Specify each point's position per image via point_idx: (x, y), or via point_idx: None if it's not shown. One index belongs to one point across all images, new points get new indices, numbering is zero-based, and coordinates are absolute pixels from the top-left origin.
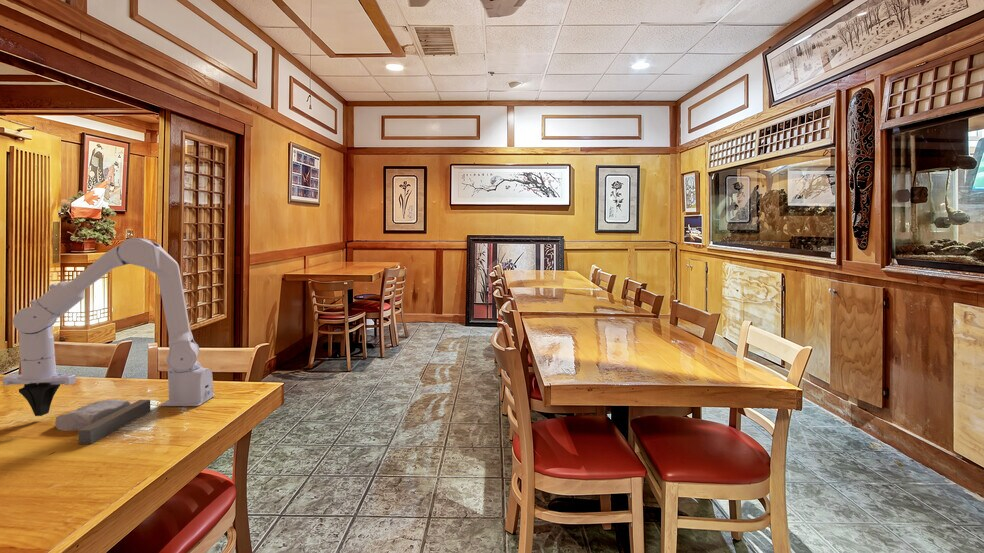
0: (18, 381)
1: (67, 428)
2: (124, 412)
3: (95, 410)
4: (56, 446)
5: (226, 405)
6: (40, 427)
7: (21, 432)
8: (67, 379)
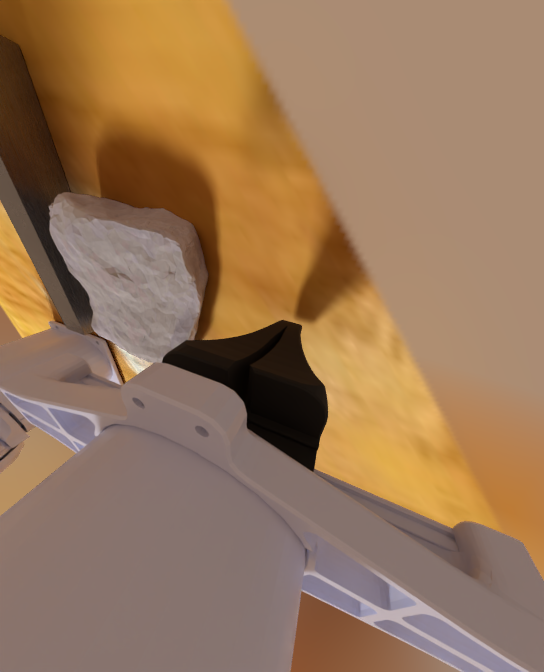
0: (311, 484)
1: (153, 210)
2: (17, 231)
3: (51, 232)
4: (57, 12)
5: (25, 313)
6: (256, 257)
7: (288, 210)
8: (21, 375)
